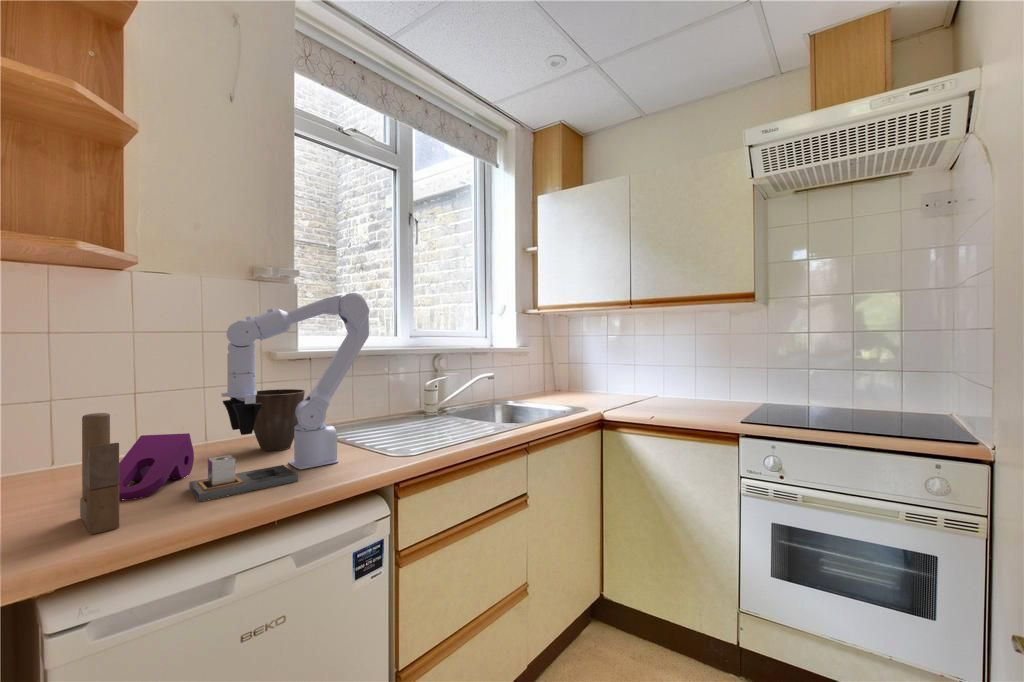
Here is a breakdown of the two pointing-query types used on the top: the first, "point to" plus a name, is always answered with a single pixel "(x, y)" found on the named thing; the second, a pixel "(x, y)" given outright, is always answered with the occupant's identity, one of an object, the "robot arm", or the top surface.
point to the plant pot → (277, 418)
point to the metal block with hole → (221, 471)
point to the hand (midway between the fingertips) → (241, 431)
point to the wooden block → (99, 475)
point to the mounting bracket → (154, 463)
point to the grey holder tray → (245, 482)
